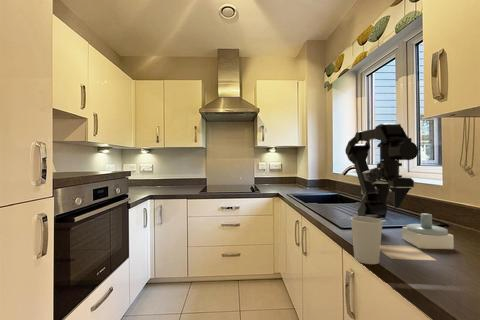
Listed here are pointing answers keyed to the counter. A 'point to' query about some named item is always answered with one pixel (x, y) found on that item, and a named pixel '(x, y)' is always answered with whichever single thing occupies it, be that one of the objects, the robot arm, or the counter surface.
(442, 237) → the dish
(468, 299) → the counter surface
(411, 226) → the lid
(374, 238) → the cup
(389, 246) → the mat
